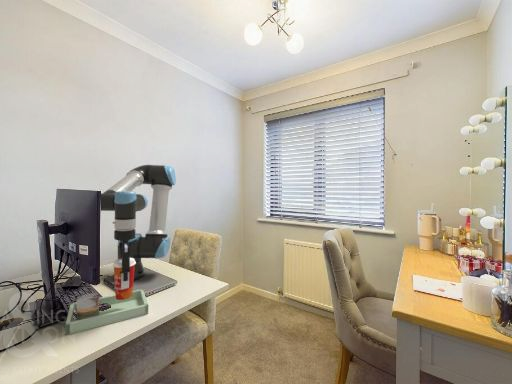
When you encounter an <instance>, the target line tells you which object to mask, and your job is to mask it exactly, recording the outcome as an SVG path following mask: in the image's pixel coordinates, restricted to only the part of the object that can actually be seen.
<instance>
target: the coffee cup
mask: <svg viewBox="0 0 512 384" xmlns="http://www.w3.org/2000/svg"><path fill="white" fill-rule="evenodd" d="M135 264H136V262H135V259H134V258H130V272H129V288H126V289H121V274H120V272H122V259H118V258H117V259H116V260H114V262H113V264H112V267H113V280H114V295H115V296H116V299H117V300H125V299H128V298H130V297H131V296H132V293H133V291H134V281H135V280H134V270H135ZM125 270H126V269H125Z"/></svg>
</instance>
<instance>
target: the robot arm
mask: <svg viewBox="0 0 512 384" xmlns="http://www.w3.org/2000/svg"><path fill="white" fill-rule="evenodd" d="M176 180H177V178H176V171H175V169H174V167H173V166H171V165H157V164H143V165H139V166H137V167H135V168H132V169H130V170H129V171H128V172H127V173H126V175H125V176H124V177H123V178H121V179H120V180H119V181H118V182H116V183H115V184H113V185H112V186H111V187H110V188H108V189H107V190H105V191H104V192H102V193H101V211H100V212H105V211H106V212H107V211H108V212H114V221H112V224H113V225H114V231H113V232H114V233H113V239H114V240H115V241H117V260H118V259H122V272H120V274H121V289H126V288H129V272H130V258H134V259H135V262H136V264H135V270H134V281H135V279H136V280H139V279H140V277H141V278H143V277H144V276H143V275H145V267H144V265H143V263H142V259H164V258H166V256H167V255H168V252H169V250H170V248H171V247H170V246H171V238H170V237H169V236H168V232H167V231H166V226H167V225H166V224H167V215H168V206H169V205H168V203H169V194H170V193H169V192H170V191H171V190H172V189H173V186H175V185H176V182H177V181H176ZM141 185H150V187H151V189H152V200H151V201H152V202H151V208H150V218H149V228H148V231H146V233H145V236H143V235H142V233H136V226H137V224H136V223H137V219H136V218H137V215H136V214H137V212H141V211H143V210H145V209H146V208H147V206H148V205H149V202H148V201H149V200H148V198H147V196H145V195H144V194H139V193H136V191H133V190H135V189H136V188H137V187H140V186H141ZM125 269H126V270H125ZM142 276H143V277H142ZM138 278H139V279H138Z"/></svg>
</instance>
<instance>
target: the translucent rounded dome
mask: <svg viewBox="0 0 512 384" xmlns="http://www.w3.org/2000/svg"><path fill="white" fill-rule="evenodd" d="M99 298H100V294H99V293H97V292H95V293H93V292H92V293H91V292H90V293H86V294H83V295H81V296H79V297H78V298H77V299H76V302H77V321H78V320H82V319H86V318H90V317H95V316H99V303H100V302H99Z"/></svg>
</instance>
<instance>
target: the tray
mask: <svg viewBox="0 0 512 384" xmlns="http://www.w3.org/2000/svg"><path fill="white" fill-rule="evenodd" d="M99 302H100V303H99V304H103V303H108V304H110V305H111V308H109V309H107V310H104V311H99V316H95V317H90V318H86V319H82V320H78V321H77V318H76V319H73V312H74V309H77V301H76V302H72V303H70V306H69V309H68V313H67V317H66V321H65V324H64V330H65V331H64V333H65V336H67V335H71V334H72V335H73V334H76V333H79V332H83V331H84V332H85V331H87V330H91V329H95V328H98V327H103V326H106V325H110V324H115V323H118V322H122V321H126V320H129V319H132V318H138V317H141V316H142V317H143V316H144V315H148V314H149V302H148V300H147V297H146V294H145V290H144V288H142V289H136V290H133V293H132V296H131V297H130V298H128V299H125V300H117V299H116V296H115V294H110V295H106V296H102V297H101V296H100V297H99Z"/></svg>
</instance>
